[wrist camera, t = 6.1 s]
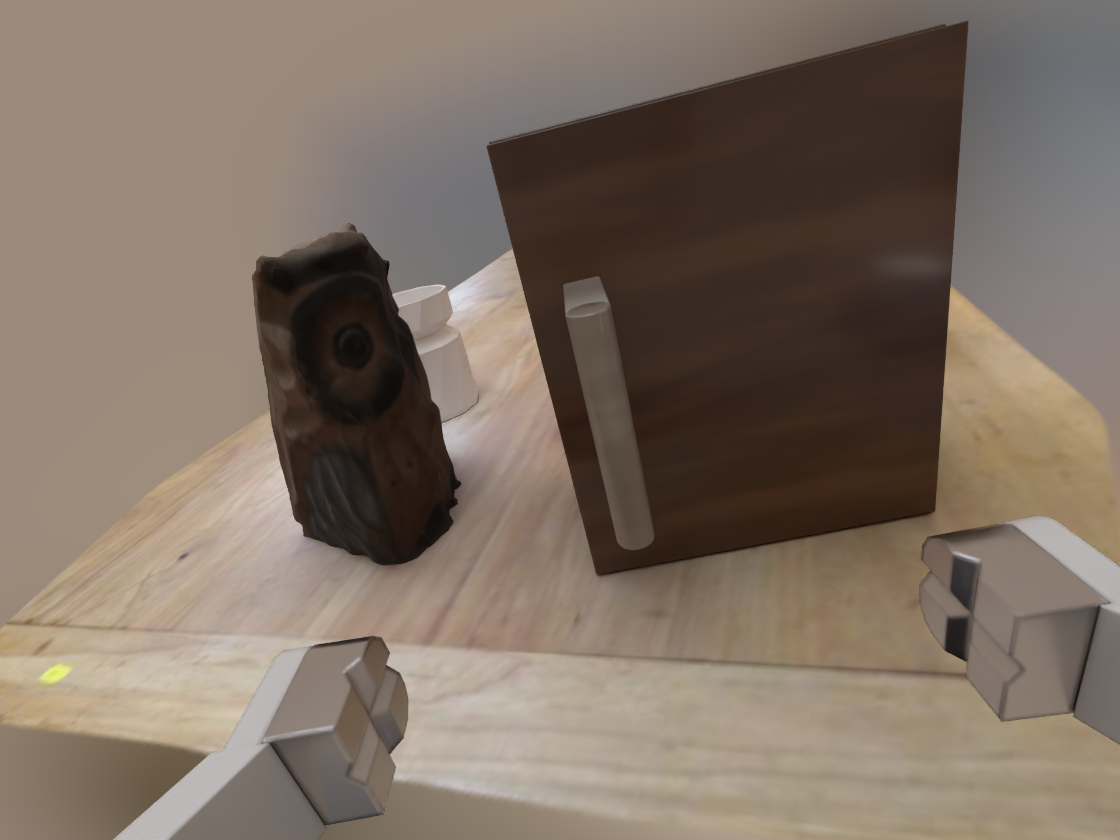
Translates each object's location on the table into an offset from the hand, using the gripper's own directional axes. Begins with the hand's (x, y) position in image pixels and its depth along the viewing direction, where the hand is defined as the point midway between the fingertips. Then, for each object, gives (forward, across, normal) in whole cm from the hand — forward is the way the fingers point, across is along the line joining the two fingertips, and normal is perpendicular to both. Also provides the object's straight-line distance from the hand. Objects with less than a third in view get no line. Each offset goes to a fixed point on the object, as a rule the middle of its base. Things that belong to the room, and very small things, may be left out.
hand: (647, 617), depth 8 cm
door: (+15, -7, +14) cm, 22 cm away
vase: (+48, +17, +15) cm, 53 cm away
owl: (+29, +17, +15) cm, 37 cm away
